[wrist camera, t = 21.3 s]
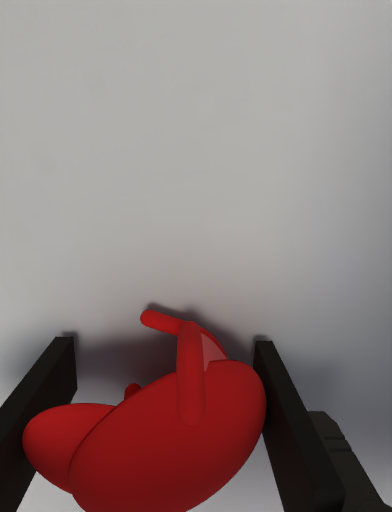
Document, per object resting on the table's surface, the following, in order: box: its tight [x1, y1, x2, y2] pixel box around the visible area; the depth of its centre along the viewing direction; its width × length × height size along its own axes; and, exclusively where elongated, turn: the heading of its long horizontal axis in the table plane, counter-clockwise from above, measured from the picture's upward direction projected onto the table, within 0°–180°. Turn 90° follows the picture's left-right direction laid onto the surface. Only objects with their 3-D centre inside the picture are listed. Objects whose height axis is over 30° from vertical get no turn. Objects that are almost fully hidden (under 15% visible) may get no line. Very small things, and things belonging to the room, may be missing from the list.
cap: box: [22, 310, 267, 512], centre depth 11 cm, size 8×6×6 cm
